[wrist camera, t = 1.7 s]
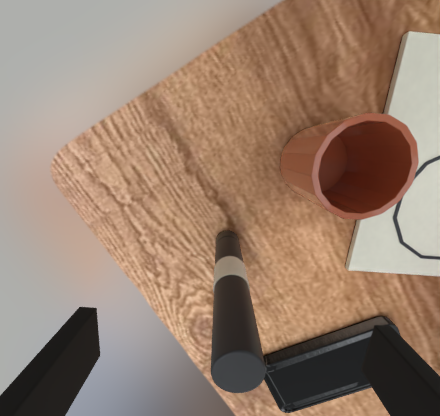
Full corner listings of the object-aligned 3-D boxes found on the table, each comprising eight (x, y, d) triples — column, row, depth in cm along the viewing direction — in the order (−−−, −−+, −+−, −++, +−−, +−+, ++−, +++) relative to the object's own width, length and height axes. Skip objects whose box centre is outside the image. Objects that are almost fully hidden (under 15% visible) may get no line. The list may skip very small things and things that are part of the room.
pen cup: (285, 123, 18) (323, 108, 12) (355, 129, 19) (433, 117, 12) (275, 193, 20) (304, 215, 13) (340, 197, 20) (400, 222, 13)
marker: (216, 228, 21) (211, 348, 8) (240, 230, 21) (271, 352, 8) (214, 250, 22) (207, 393, 9) (237, 252, 22) (263, 396, 9)
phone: (258, 368, 24) (396, 321, 22) (256, 358, 25) (388, 313, 23) (283, 415, 26) (411, 375, 24) (280, 404, 27) (403, 366, 25)
